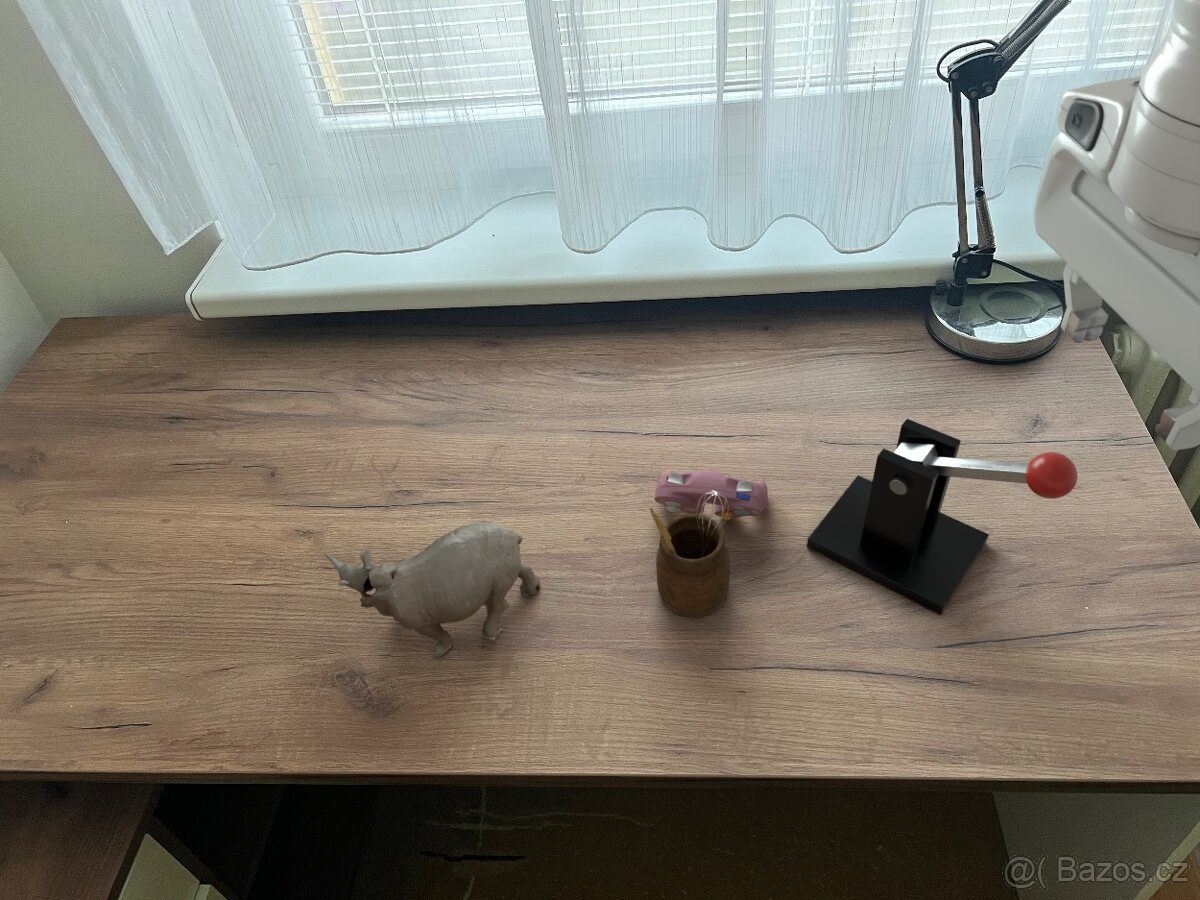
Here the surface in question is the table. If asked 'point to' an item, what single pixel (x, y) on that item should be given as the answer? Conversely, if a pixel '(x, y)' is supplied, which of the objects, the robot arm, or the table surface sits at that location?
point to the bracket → (902, 526)
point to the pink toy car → (711, 493)
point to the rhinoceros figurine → (445, 581)
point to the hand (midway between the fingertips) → (1124, 383)
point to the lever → (1001, 469)
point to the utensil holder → (692, 563)
